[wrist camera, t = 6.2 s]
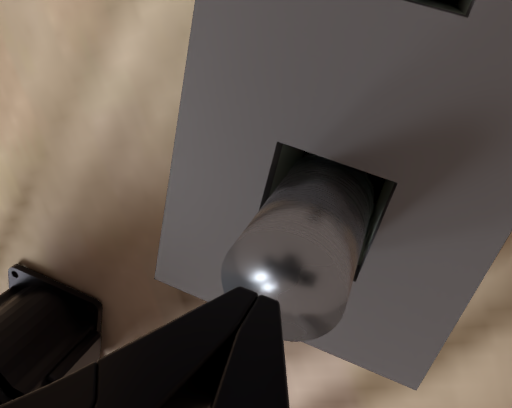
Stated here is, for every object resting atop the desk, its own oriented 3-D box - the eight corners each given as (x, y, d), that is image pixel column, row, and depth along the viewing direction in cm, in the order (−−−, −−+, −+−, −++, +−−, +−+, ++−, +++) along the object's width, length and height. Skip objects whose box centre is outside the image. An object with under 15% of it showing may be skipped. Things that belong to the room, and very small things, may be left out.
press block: (217, 211, 23) (154, 278, 17) (325, -297, 14) (262, -461, 9) (420, 289, 21) (416, 390, 16) (695, -240, 12) (890, -405, 7)
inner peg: (274, 216, 16) (211, 311, 12) (296, 139, 15) (234, 211, 10) (356, 247, 16) (324, 359, 11) (387, 170, 14) (365, 262, 10)
